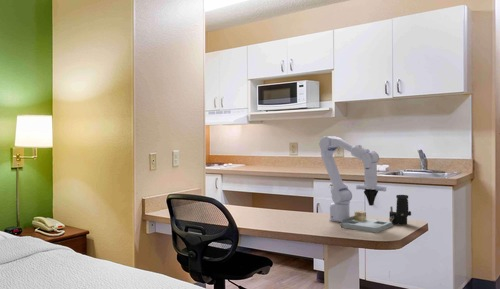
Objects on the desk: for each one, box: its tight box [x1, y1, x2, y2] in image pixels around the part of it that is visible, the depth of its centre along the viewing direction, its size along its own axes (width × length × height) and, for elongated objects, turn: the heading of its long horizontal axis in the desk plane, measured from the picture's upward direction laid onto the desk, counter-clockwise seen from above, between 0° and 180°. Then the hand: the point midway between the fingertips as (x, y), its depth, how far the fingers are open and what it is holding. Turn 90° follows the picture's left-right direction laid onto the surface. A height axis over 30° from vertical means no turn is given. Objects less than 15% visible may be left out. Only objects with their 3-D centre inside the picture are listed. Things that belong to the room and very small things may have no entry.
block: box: [354, 210, 367, 221], centre depth 201 cm, size 4×4×4 cm
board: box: [340, 215, 393, 234], centre depth 196 cm, size 18×16×4 cm
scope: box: [388, 194, 412, 226], centre depth 200 cm, size 8×14×10 cm
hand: (371, 205), depth 197 cm, fingers closed
